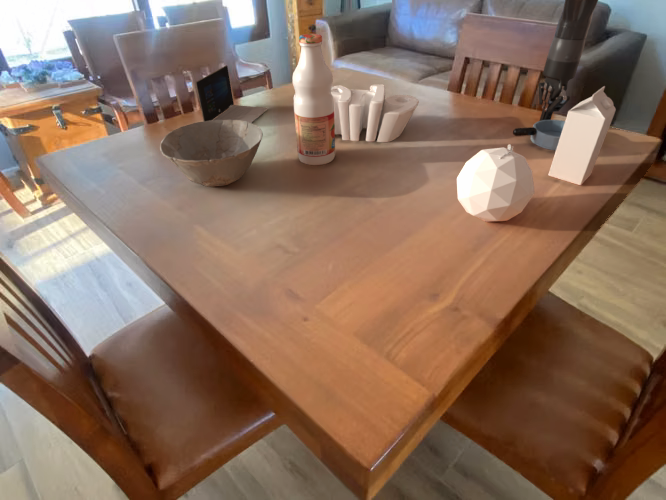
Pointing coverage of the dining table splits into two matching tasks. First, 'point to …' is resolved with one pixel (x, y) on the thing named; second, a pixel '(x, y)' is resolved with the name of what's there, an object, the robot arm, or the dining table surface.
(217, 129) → the ceramic bowl
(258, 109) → the laptop
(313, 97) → the fruit juice
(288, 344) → the dining table surface
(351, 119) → the wavy white extrusion
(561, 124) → the pan
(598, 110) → the milk carton
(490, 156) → the geodesic sphere
